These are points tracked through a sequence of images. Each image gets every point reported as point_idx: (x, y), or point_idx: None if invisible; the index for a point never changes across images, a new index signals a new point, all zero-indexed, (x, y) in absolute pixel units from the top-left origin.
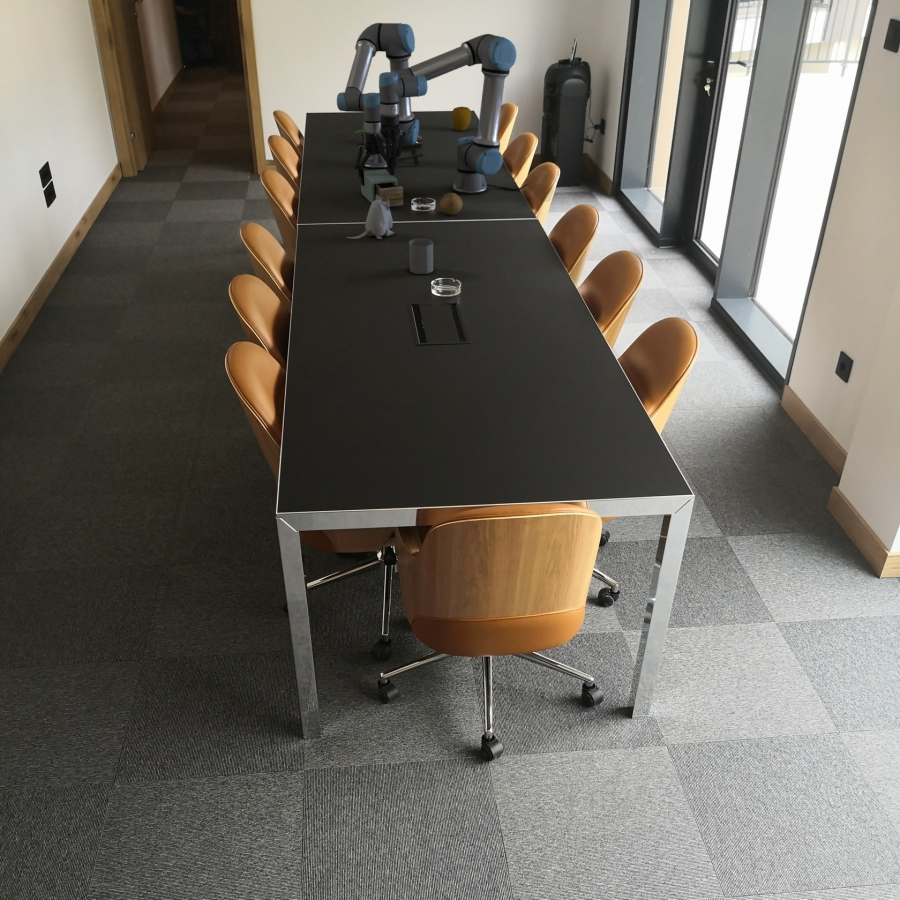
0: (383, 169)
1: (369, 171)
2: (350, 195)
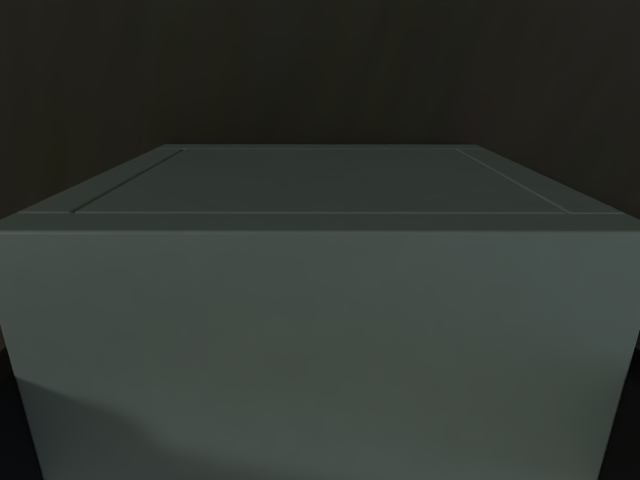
0: (616, 243)
1: (212, 292)
2: (22, 156)
